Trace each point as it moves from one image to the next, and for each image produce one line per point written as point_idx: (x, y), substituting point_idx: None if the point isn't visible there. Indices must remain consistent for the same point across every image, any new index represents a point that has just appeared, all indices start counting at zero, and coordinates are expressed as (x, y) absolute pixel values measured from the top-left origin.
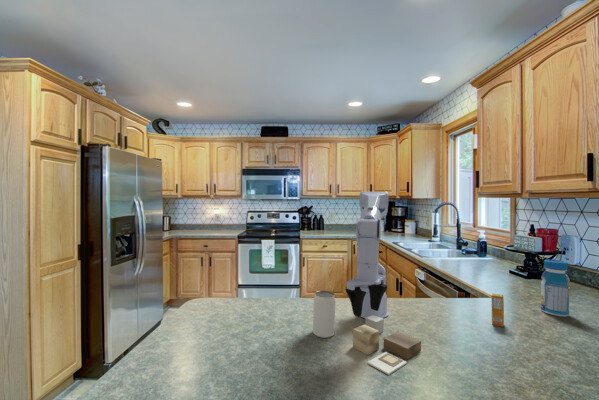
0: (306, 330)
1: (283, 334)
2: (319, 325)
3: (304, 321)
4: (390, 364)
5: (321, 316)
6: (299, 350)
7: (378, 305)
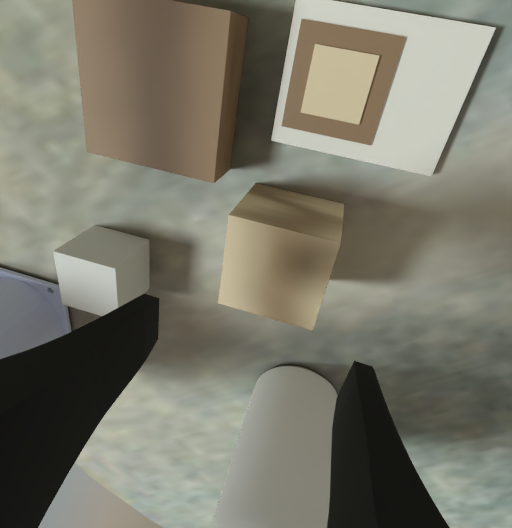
0: None
1: None
2: None
3: None
4: (390, 62)
5: None
6: (481, 416)
7: (129, 316)
